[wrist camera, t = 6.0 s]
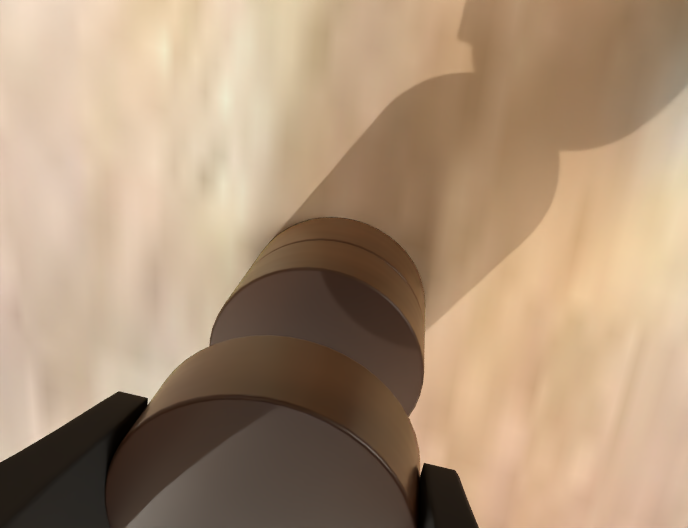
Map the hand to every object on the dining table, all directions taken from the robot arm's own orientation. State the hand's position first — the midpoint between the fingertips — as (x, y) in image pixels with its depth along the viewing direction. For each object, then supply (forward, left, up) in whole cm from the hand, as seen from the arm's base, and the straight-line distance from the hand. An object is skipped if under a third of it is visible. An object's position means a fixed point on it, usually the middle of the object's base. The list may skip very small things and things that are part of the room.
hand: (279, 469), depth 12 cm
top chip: (0, 0, 0) cm, 0 cm away
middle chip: (0, 0, -6) cm, 6 cm away
